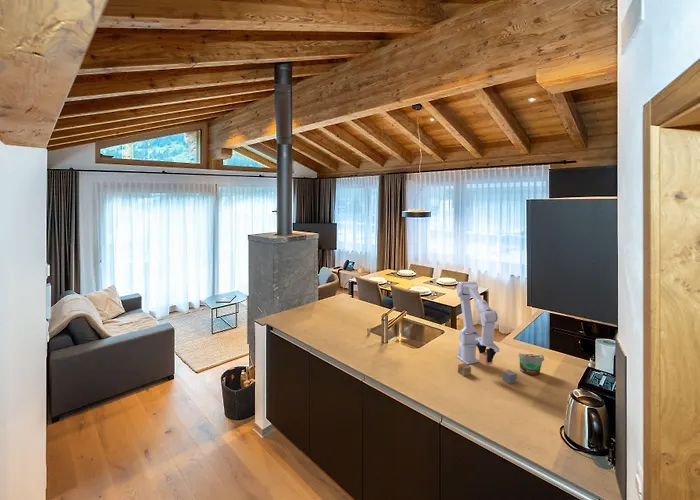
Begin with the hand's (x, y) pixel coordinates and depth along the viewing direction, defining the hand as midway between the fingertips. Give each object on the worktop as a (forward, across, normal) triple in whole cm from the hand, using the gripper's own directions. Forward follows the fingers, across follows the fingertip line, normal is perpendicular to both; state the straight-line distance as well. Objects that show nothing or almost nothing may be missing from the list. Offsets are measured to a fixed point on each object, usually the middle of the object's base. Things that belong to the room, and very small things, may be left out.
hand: (485, 359), depth 177 cm
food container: (+9, +7, +24) cm, 27 cm away
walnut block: (+9, -6, -8) cm, 13 cm away
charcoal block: (+9, +8, +8) cm, 14 cm away
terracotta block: (+2, 0, 0) cm, 2 cm away
